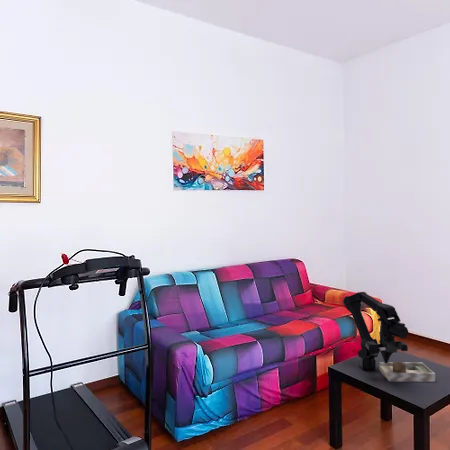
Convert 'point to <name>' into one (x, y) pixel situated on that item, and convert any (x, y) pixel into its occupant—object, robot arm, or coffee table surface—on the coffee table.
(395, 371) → the walnut block
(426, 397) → the coffee table surface
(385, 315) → the robot arm
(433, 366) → the coffee table surface
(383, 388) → the coffee table surface
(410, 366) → the grey slotted tray
